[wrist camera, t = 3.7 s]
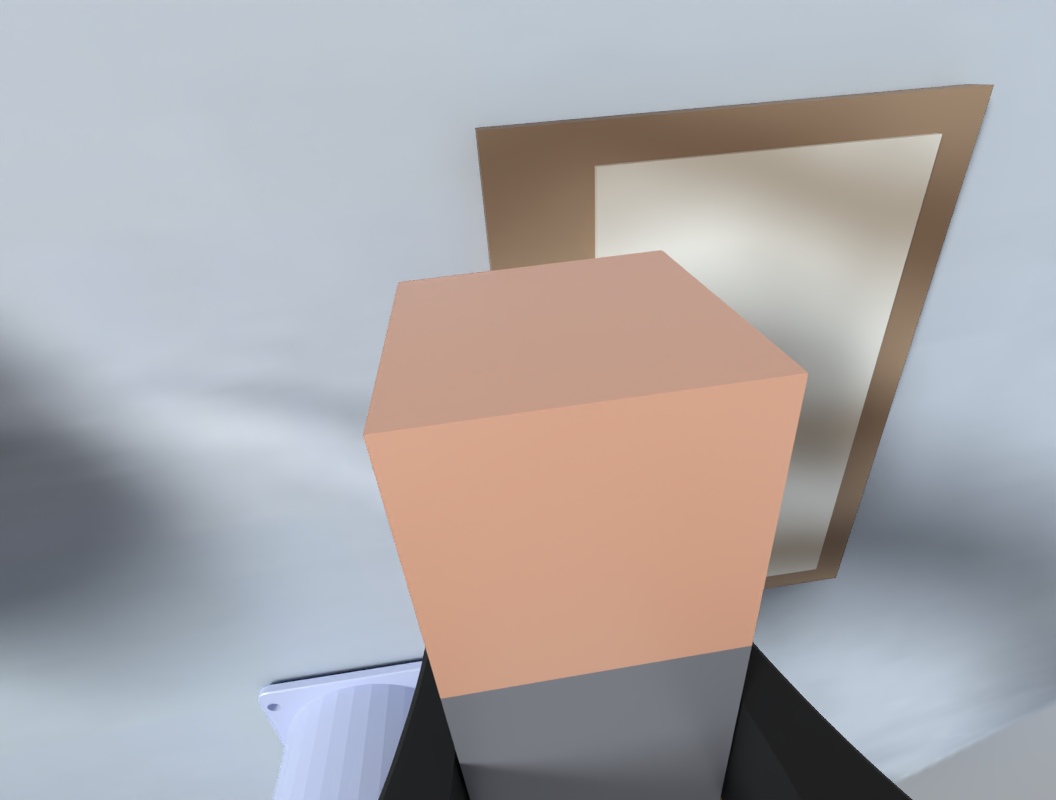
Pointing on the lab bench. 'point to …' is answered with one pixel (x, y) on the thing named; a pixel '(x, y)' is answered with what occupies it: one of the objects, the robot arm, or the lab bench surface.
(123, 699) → the lab bench surface
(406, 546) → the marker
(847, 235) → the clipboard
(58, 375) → the lab bench surface
